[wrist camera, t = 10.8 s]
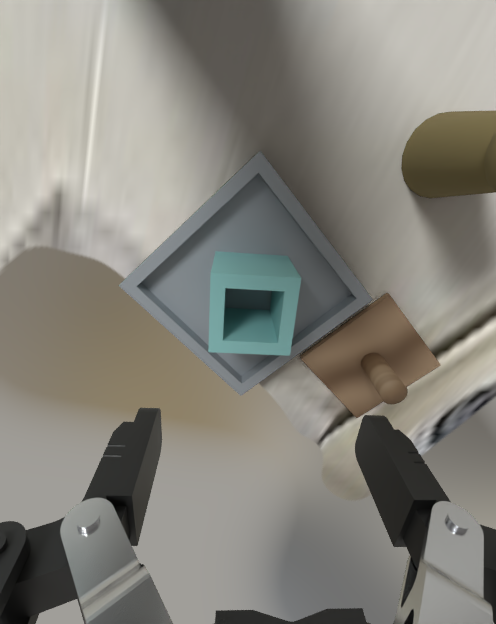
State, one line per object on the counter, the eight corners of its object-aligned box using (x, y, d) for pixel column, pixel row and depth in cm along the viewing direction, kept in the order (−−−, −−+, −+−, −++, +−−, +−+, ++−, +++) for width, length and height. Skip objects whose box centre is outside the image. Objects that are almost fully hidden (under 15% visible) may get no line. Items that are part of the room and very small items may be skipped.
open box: (215, 251, 26) (210, 272, 21) (287, 255, 27) (301, 278, 21) (212, 332, 29) (208, 369, 24) (277, 335, 30) (287, 372, 24)
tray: (126, 277, 28) (118, 285, 26) (258, 152, 24) (260, 150, 22) (240, 383, 33) (240, 395, 31) (364, 291, 29) (373, 299, 27)
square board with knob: (299, 355, 32) (312, 390, 27) (386, 292, 29) (418, 318, 24) (355, 414, 35) (375, 455, 30) (437, 361, 33) (473, 396, 28)
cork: (418, 213, 27) (529, 240, 17) (389, 145, 24) (496, 128, 14) (489, 168, 25) (656, 168, 15) (465, 92, 23) (640, 34, 13)
